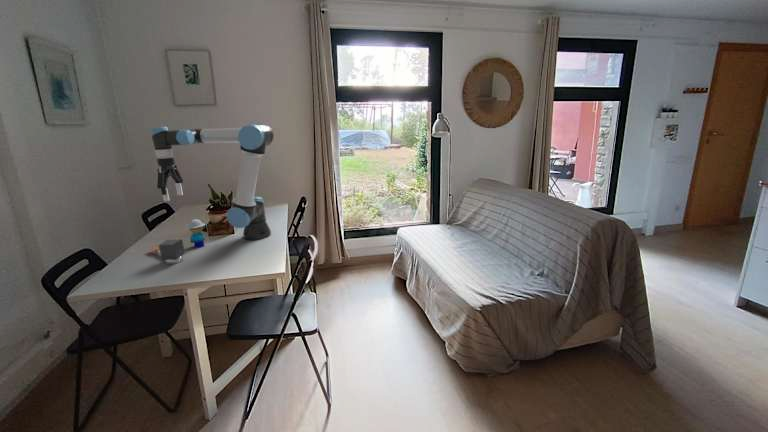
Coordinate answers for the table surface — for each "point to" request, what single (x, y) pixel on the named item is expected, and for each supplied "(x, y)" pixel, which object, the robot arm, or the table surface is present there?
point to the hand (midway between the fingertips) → (173, 197)
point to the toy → (197, 232)
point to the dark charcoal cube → (171, 249)
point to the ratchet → (172, 261)
